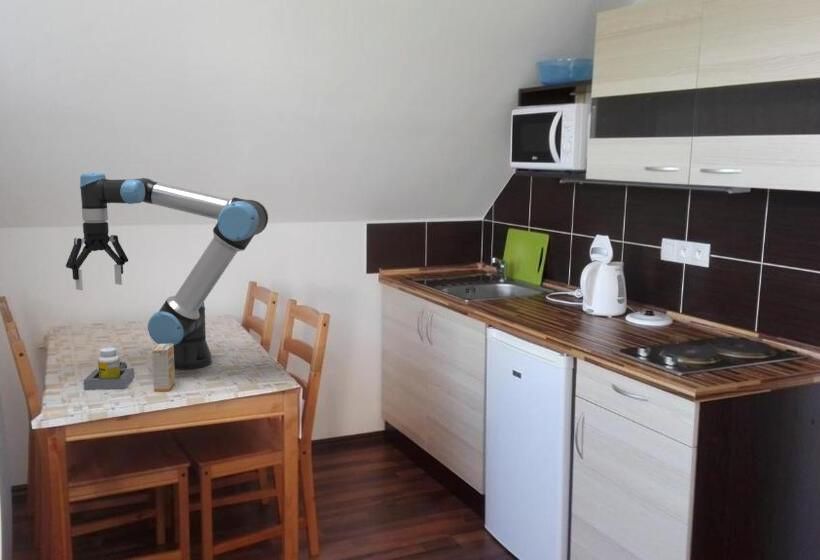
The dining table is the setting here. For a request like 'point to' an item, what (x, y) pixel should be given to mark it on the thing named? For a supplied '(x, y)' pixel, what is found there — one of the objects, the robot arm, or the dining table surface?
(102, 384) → the low gray tray
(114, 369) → the pill bottle
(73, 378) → the dining table surface
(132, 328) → the dining table surface
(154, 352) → the supplement box
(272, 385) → the dining table surface
